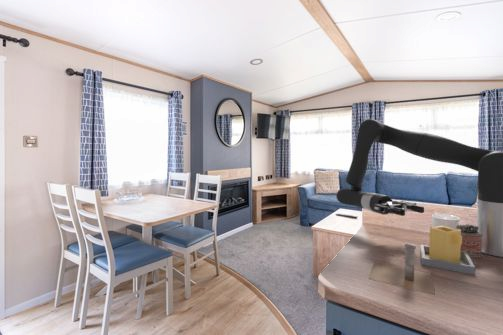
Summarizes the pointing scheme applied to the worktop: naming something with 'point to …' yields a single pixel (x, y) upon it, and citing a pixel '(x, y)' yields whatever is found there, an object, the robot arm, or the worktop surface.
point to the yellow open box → (445, 244)
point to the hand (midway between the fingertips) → (413, 211)
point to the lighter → (471, 240)
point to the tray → (463, 266)
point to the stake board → (404, 273)
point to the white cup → (445, 221)
